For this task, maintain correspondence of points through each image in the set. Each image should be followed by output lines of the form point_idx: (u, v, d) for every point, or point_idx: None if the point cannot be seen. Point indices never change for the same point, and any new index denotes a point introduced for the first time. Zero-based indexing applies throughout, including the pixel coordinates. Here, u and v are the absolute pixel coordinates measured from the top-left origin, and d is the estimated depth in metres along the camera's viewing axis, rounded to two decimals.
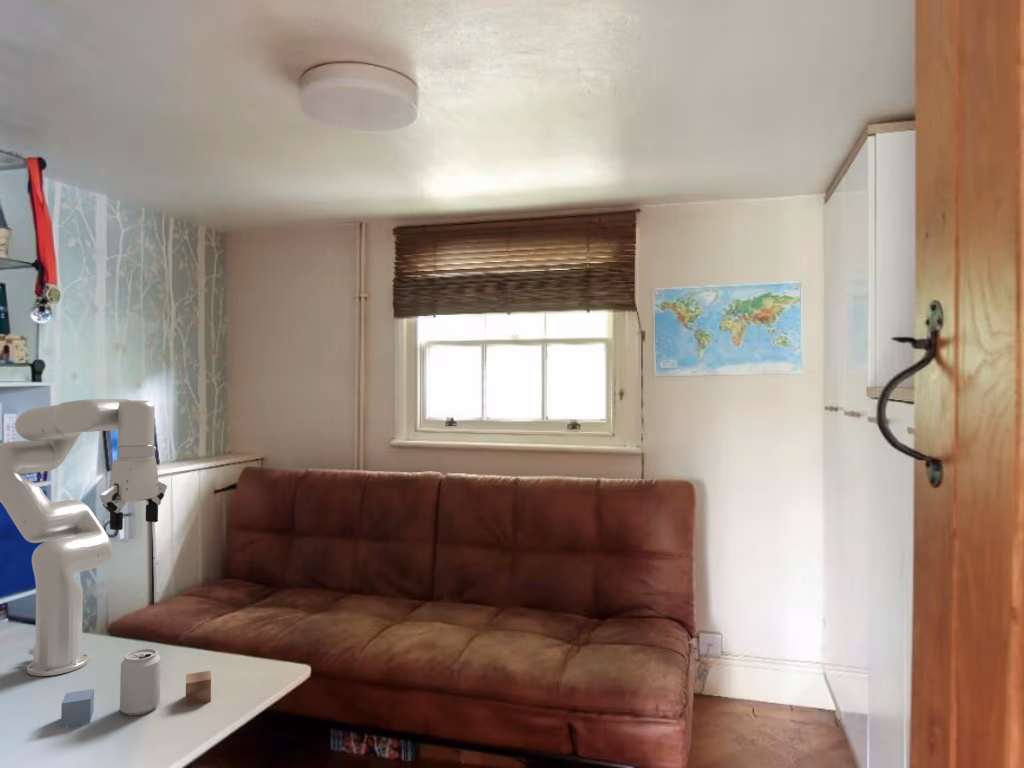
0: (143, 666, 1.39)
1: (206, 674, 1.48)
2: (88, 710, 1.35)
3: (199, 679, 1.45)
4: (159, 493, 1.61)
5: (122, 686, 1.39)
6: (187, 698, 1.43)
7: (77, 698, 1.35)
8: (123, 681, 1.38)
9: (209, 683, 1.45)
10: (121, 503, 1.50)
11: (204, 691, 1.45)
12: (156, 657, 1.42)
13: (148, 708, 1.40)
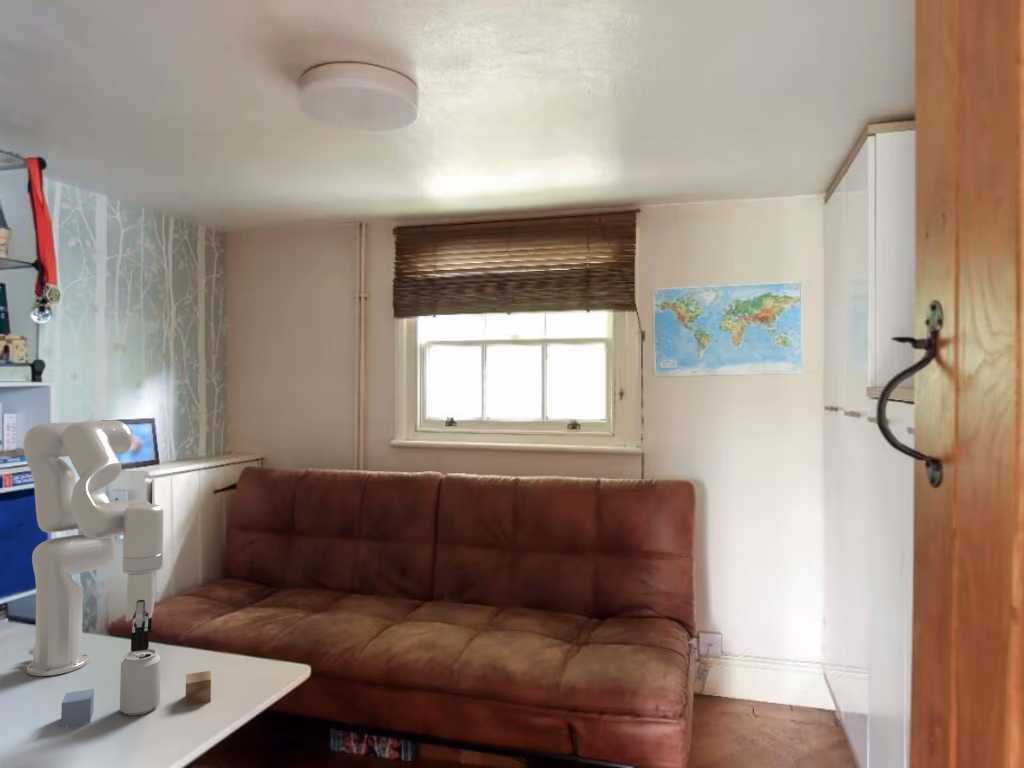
0: (143, 666, 1.39)
1: (206, 674, 1.48)
2: (88, 710, 1.35)
3: (199, 679, 1.45)
4: None
5: (122, 686, 1.39)
6: (187, 698, 1.43)
7: (77, 698, 1.35)
8: (123, 681, 1.38)
9: (209, 683, 1.45)
10: (147, 620, 1.38)
11: (204, 691, 1.45)
12: (156, 657, 1.42)
13: (148, 708, 1.40)
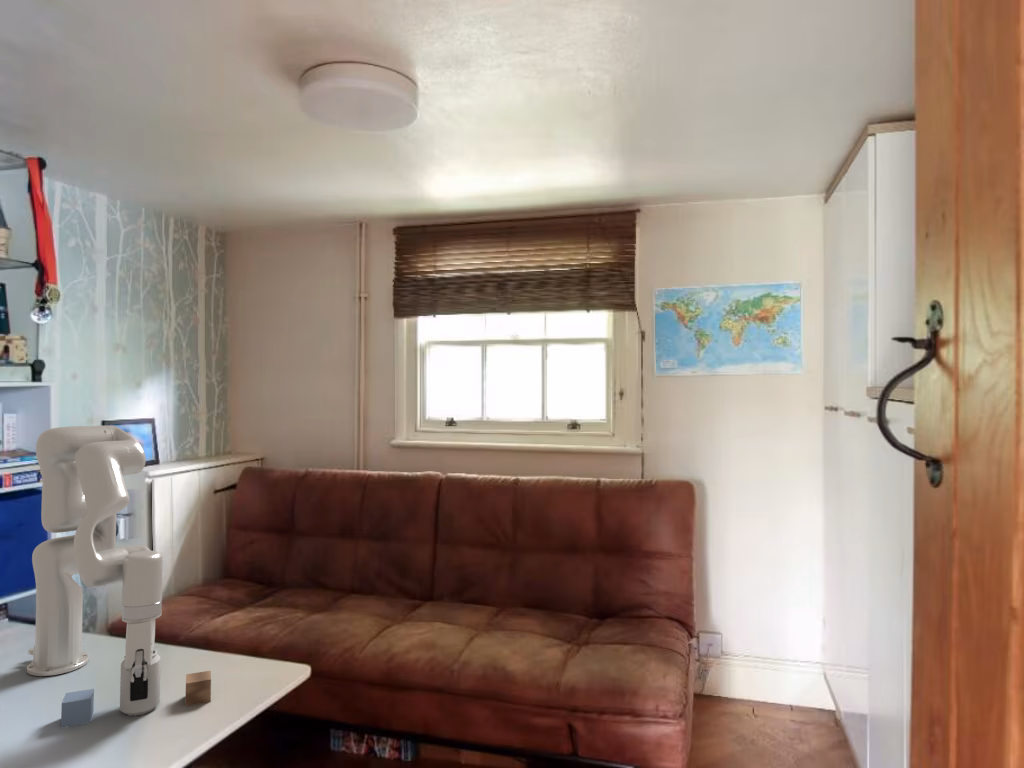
0: None
1: (206, 674, 1.48)
2: (88, 710, 1.35)
3: (199, 679, 1.45)
4: None
5: (122, 686, 1.39)
6: (187, 698, 1.43)
7: (77, 698, 1.35)
8: (123, 681, 1.38)
9: (209, 683, 1.45)
10: (146, 669, 1.38)
11: (204, 691, 1.45)
12: (156, 657, 1.42)
13: (148, 708, 1.40)
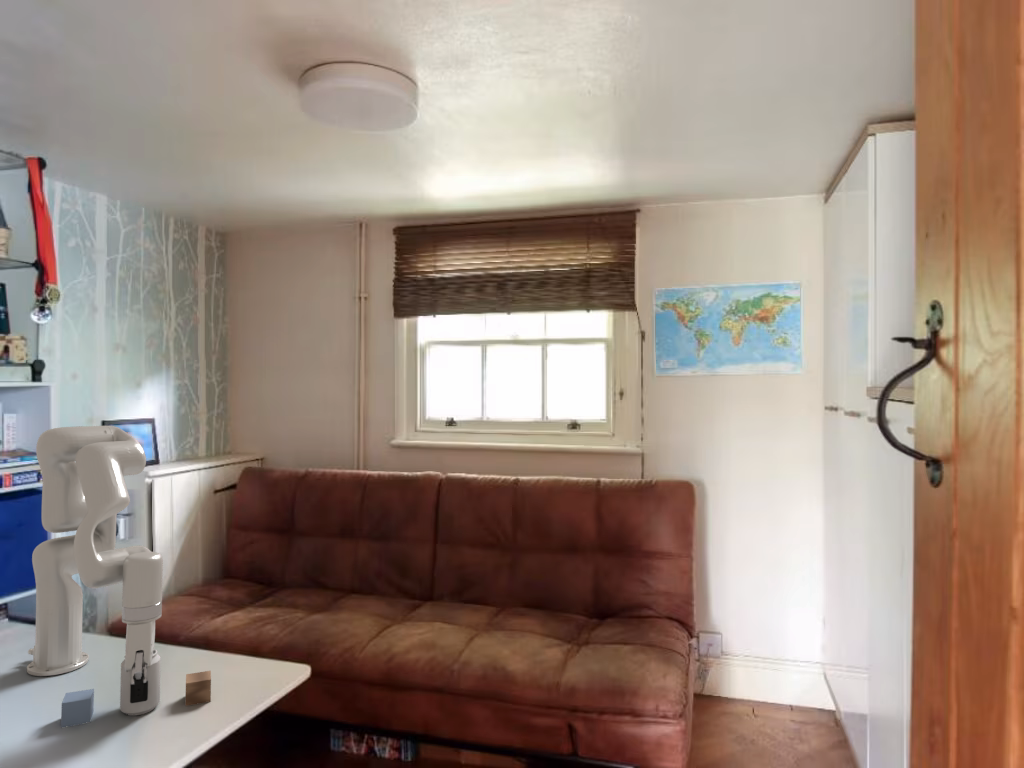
0: (143, 666, 1.39)
1: (206, 674, 1.48)
2: (88, 710, 1.35)
3: (199, 679, 1.45)
4: None
5: (122, 686, 1.39)
6: (187, 698, 1.43)
7: (77, 698, 1.35)
8: (124, 681, 1.38)
9: (209, 683, 1.45)
10: (146, 671, 1.38)
11: (204, 691, 1.45)
12: (156, 657, 1.42)
13: (148, 708, 1.40)
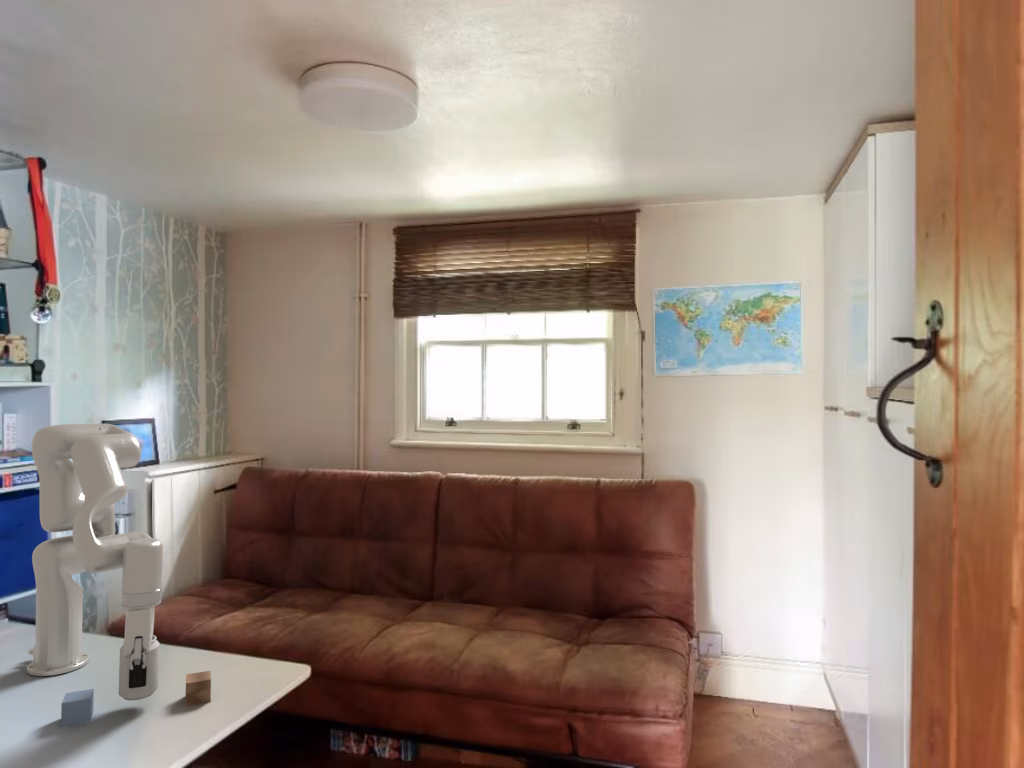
0: None
1: (206, 674, 1.48)
2: (88, 710, 1.35)
3: (199, 679, 1.45)
4: None
5: (121, 671, 1.39)
6: (187, 698, 1.43)
7: (77, 698, 1.35)
8: (122, 666, 1.39)
9: (209, 683, 1.45)
10: (145, 657, 1.39)
11: (204, 691, 1.45)
12: (155, 643, 1.42)
13: (146, 693, 1.40)
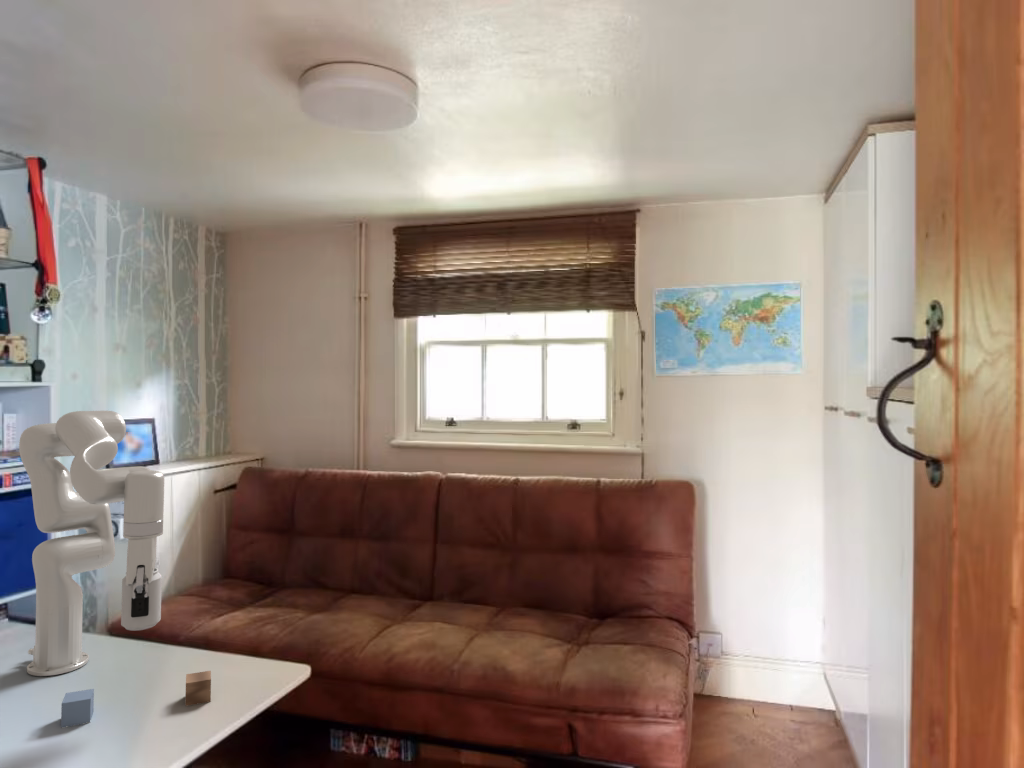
0: None
1: (206, 674, 1.48)
2: (88, 710, 1.35)
3: (199, 679, 1.45)
4: None
5: (123, 601, 1.39)
6: (187, 698, 1.43)
7: (77, 698, 1.35)
8: (125, 596, 1.39)
9: (209, 683, 1.45)
10: (147, 586, 1.39)
11: (204, 691, 1.45)
12: (157, 574, 1.42)
13: (149, 624, 1.40)
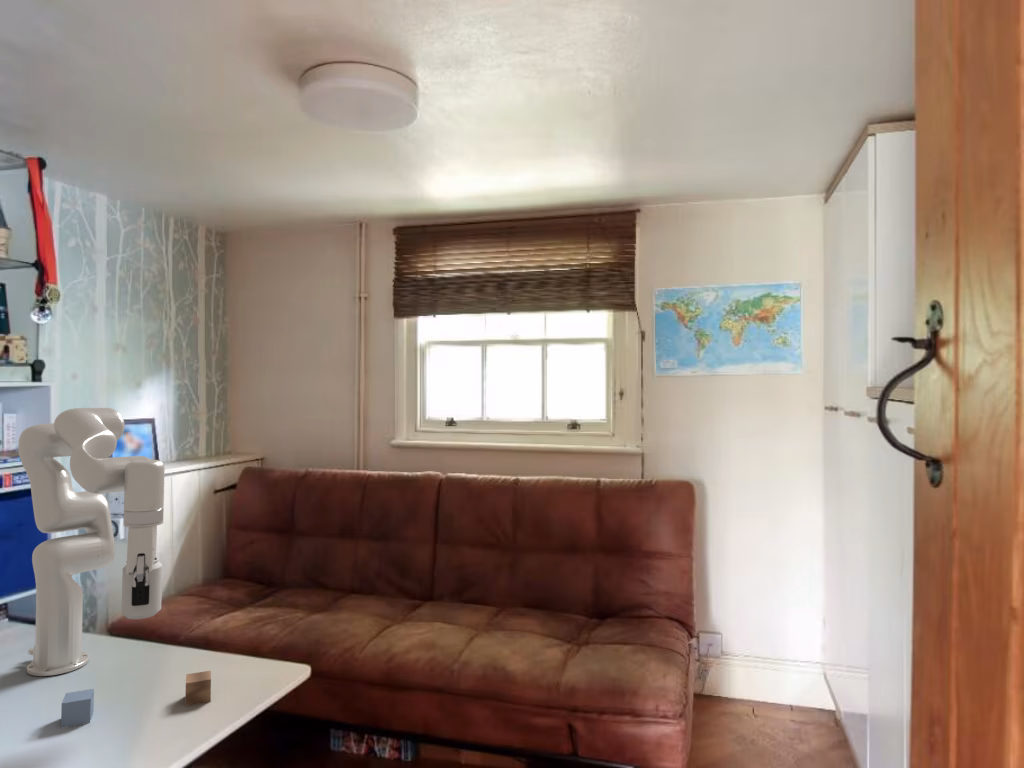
0: (145, 570, 1.39)
1: (206, 674, 1.48)
2: (88, 710, 1.35)
3: (199, 679, 1.45)
4: None
5: (124, 589, 1.39)
6: (187, 698, 1.43)
7: (77, 698, 1.35)
8: (125, 584, 1.39)
9: (209, 683, 1.45)
10: (148, 575, 1.39)
11: (204, 691, 1.45)
12: (158, 563, 1.42)
13: (150, 612, 1.40)
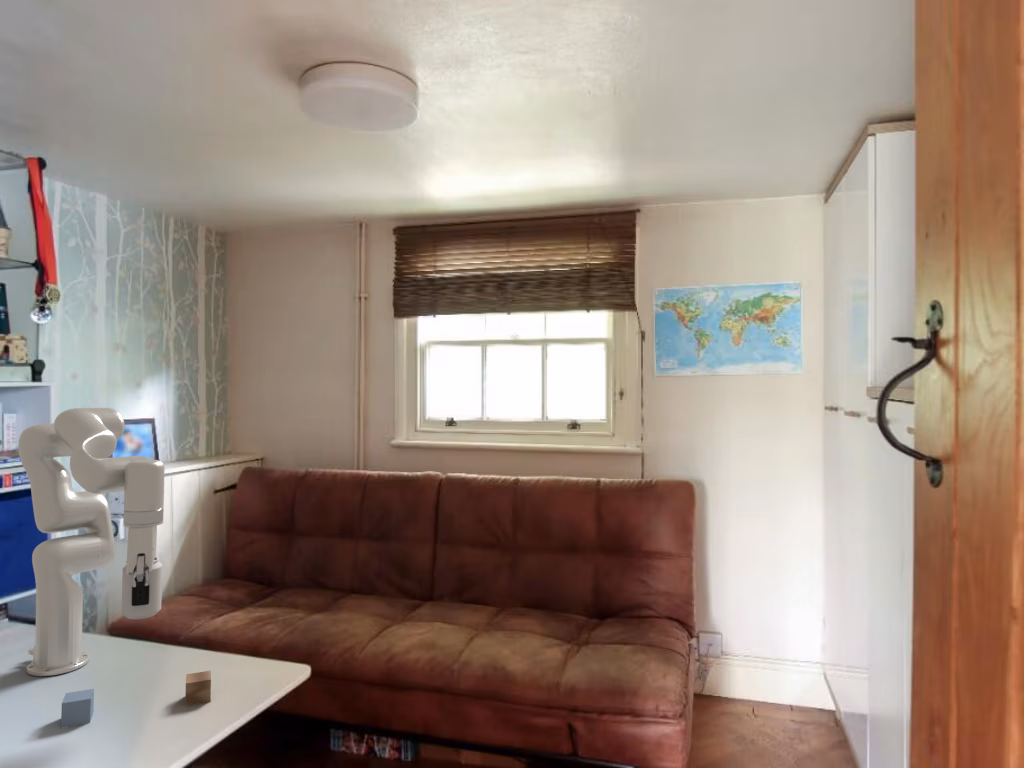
0: (145, 570, 1.39)
1: (206, 674, 1.48)
2: (88, 710, 1.35)
3: (199, 679, 1.45)
4: None
5: (124, 589, 1.39)
6: (187, 698, 1.43)
7: (77, 698, 1.35)
8: (125, 584, 1.39)
9: (209, 683, 1.45)
10: (148, 575, 1.39)
11: (204, 691, 1.45)
12: (158, 563, 1.42)
13: (150, 612, 1.40)
